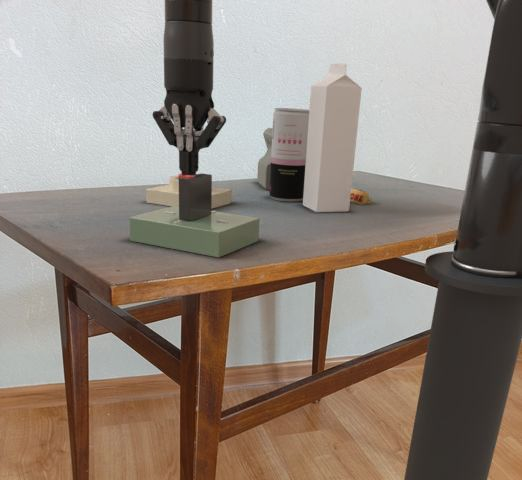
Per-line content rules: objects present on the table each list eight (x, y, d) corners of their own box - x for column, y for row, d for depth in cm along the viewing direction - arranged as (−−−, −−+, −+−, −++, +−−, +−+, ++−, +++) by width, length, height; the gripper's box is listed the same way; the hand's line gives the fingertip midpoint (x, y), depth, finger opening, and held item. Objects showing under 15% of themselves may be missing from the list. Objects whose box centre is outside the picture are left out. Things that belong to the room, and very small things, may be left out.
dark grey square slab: (201, 213, 77) (201, 171, 74) (211, 214, 76) (212, 172, 74) (178, 219, 72) (178, 175, 70) (189, 221, 72) (189, 176, 70)
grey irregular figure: (303, 194, 112) (307, 134, 107) (256, 191, 112) (258, 132, 107) (299, 181, 127) (303, 128, 122) (257, 179, 127) (259, 126, 122)
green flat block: (258, 241, 77) (259, 216, 76) (218, 257, 69) (219, 231, 67) (176, 226, 82) (175, 203, 81) (130, 241, 74) (128, 215, 73)
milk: (316, 212, 96) (327, 62, 87) (302, 205, 101) (311, 62, 92) (349, 211, 98) (364, 64, 89) (334, 204, 103) (346, 64, 94)
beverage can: (274, 194, 110) (278, 107, 104) (308, 197, 109) (315, 109, 102) (265, 199, 104) (269, 108, 98) (301, 203, 103) (307, 110, 97)
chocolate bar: (361, 206, 105) (362, 193, 104) (318, 194, 114) (319, 182, 113) (371, 204, 106) (373, 192, 105) (328, 193, 115) (329, 181, 114)
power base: (231, 203, 100) (232, 178, 98) (202, 211, 93) (202, 185, 91) (177, 195, 105) (177, 172, 103) (146, 202, 97) (145, 177, 96)
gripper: (138, 54, 89) (142, 172, 96) (212, 56, 84) (211, 182, 91) (167, 57, 95) (169, 168, 103) (238, 59, 90) (235, 176, 97)
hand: (188, 174), depth 97 cm, fingers closed
